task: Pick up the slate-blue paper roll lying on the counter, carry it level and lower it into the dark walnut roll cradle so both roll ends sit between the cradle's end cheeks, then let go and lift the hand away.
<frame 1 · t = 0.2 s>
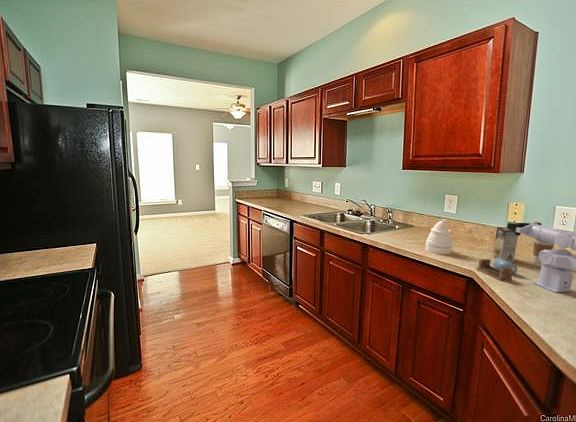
hand: (514, 225, 139), 21 cm above the counter, tool horizontal, fingers open, 7 cm apart
honey pot: (437, 250, 168), on the counter
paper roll: (504, 271, 139), on the counter
coffee box: (502, 259, 157), on the counter
roll cradle: (493, 274, 135), on the counter
coffee cup: (540, 262, 152), on the counter
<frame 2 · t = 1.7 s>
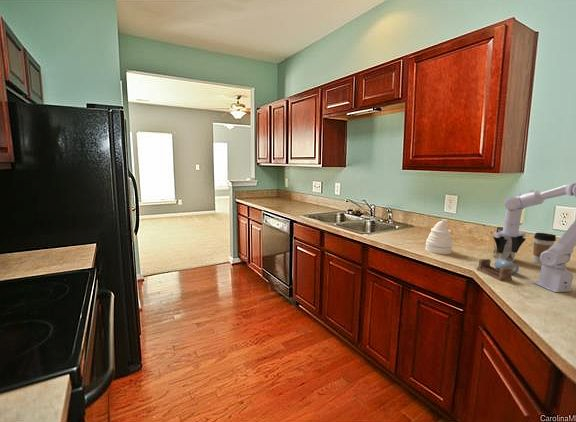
hand: (507, 252, 138), 9 cm above the counter, tool pointing down, fingers open, 7 cm apart
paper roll: (504, 271, 139), on the counter, tilted 17°
everything else where it was.
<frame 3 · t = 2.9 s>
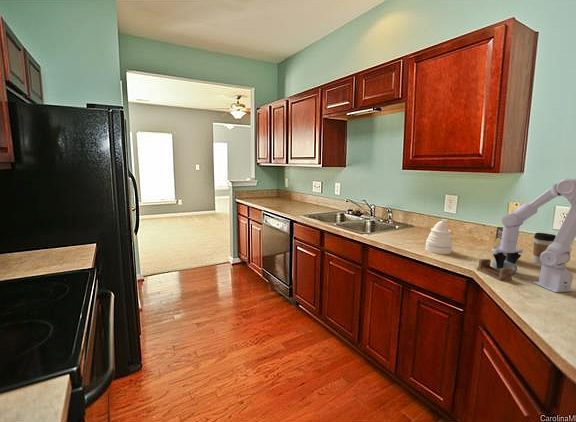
hand: (504, 268, 139), 1 cm above the counter, tool pointing down, fingers closed on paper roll, 5 cm apart
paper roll: (503, 271, 139), on the counter, touching gripper
everything else where it was.
when the fingers open (5 cm above the counter, at t = 6.0 s): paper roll drops 2 cm, resting on roll cradle.
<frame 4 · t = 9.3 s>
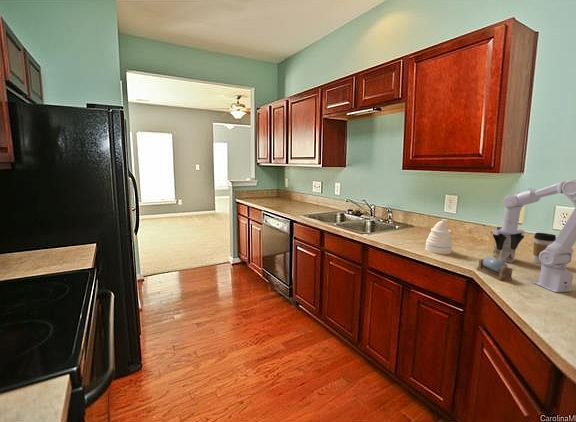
hand: (506, 249, 141), 9 cm above the counter, tool pointing down, fingers open, 7 cm apart
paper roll: (494, 270, 135), point 2 cm above the counter, touching roll cradle
everything else where it was.
at the end: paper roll 0.1 cm off-centre on the roll cradle, point 1.9 cm above the roll cradle's base; the gripper is holding nothing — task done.
